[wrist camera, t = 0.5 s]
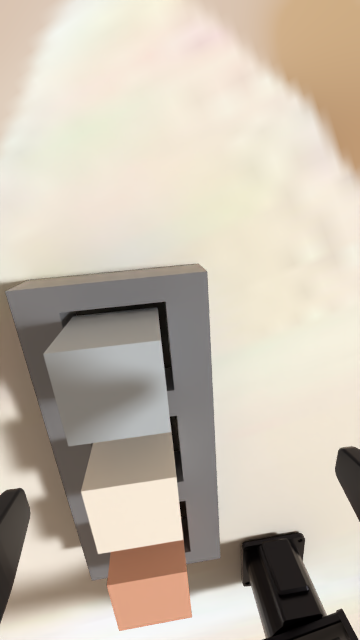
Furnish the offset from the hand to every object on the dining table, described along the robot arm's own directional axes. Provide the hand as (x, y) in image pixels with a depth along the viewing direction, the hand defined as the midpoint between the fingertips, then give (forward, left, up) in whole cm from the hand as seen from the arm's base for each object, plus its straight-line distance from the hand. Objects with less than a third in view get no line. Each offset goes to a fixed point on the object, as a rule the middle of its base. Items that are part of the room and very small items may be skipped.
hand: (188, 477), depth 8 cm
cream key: (-9, +3, -10) cm, 14 cm away
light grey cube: (-1, +3, -10) cm, 11 cm away
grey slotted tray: (-9, +3, -13) cm, 15 cm away
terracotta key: (-17, +3, -10) cm, 20 cm away
